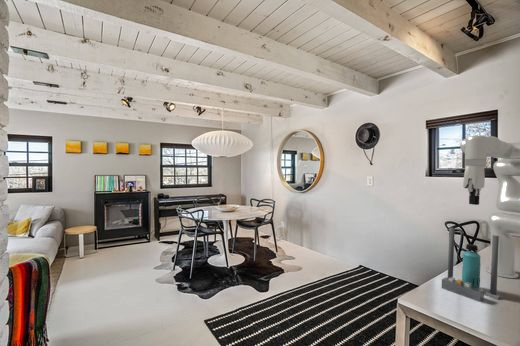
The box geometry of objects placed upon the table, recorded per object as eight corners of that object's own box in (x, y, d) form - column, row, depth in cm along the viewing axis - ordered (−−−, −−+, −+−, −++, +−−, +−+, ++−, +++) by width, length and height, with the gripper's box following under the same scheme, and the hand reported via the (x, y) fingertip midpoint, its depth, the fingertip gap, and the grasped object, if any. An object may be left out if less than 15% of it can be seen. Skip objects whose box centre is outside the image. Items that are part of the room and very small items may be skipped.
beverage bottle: (472, 292, 114) (474, 247, 113) (457, 286, 120) (459, 243, 119) (483, 291, 115) (485, 246, 115) (468, 284, 122) (469, 242, 121)
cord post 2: (488, 293, 114) (491, 234, 113) (500, 297, 110) (503, 236, 110) (485, 295, 111) (487, 235, 111) (497, 299, 108) (500, 237, 107)
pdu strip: (445, 285, 120) (446, 274, 120) (483, 299, 108) (484, 287, 108) (441, 287, 118) (441, 276, 118) (479, 301, 106) (480, 289, 106)
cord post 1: (447, 279, 127) (449, 226, 127) (456, 282, 124) (458, 228, 123) (443, 281, 125) (445, 227, 124) (453, 284, 122) (455, 229, 121)
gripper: (472, 163, 123) (470, 202, 124) (458, 163, 116) (456, 204, 116) (492, 163, 117) (490, 204, 118) (479, 163, 109) (477, 206, 110)
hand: (474, 204), depth 117 cm, fingers closed
